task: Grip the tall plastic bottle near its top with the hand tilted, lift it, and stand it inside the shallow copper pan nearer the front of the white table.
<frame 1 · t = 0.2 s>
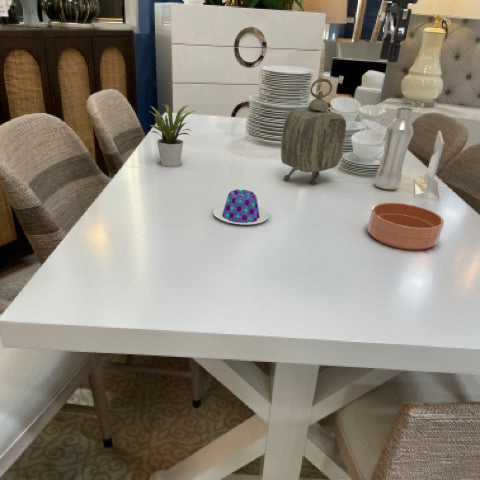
hand: (387, 60, 113), 30 cm above the table, tool pointing down, fingers open, 8 cm apart
tabletop clock: (307, 182, 127), on the table
plastic bottle: (385, 189, 127), on the table
house plant: (175, 164, 132), on the table
pan: (401, 237, 99), on the table
pudding: (240, 217, 102), on the table
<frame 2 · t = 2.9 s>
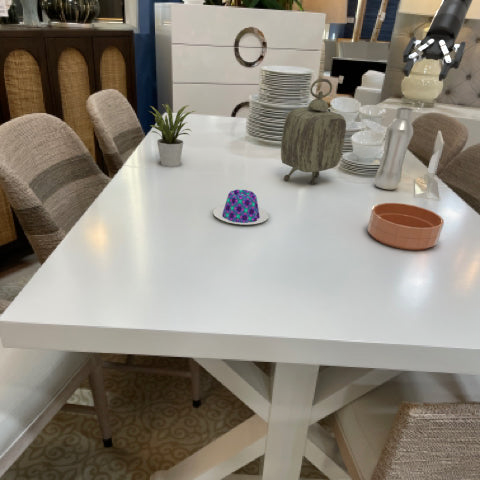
hand: (423, 76, 120), 27 cm above the table, tool tilted 45°, fingers open, 8 cm apart
nothing on the table moved.
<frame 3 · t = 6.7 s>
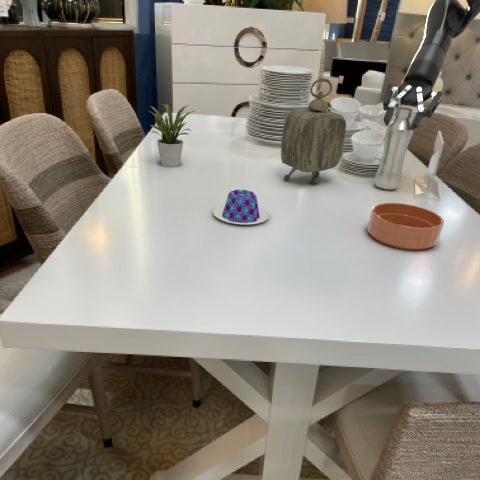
hand: (399, 125, 117), 16 cm above the table, tool tilted 45°, fingers closed on plastic bottle, 6 cm apart
plastic bottle: (385, 189, 127), on the table, touching gripper
everything else where it was.
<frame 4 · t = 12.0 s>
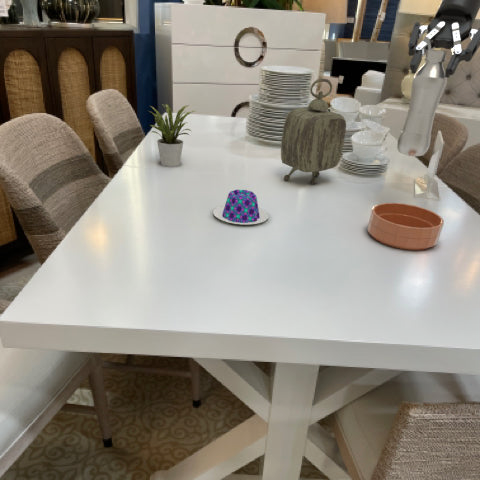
hand: (429, 72, 93), 30 cm above the table, tool tilted 45°, fingers closed on plastic bottle, 6 cm apart
plastic bottle: (410, 156, 103), point 13 cm above the table, touching gripper
everything else where it was.
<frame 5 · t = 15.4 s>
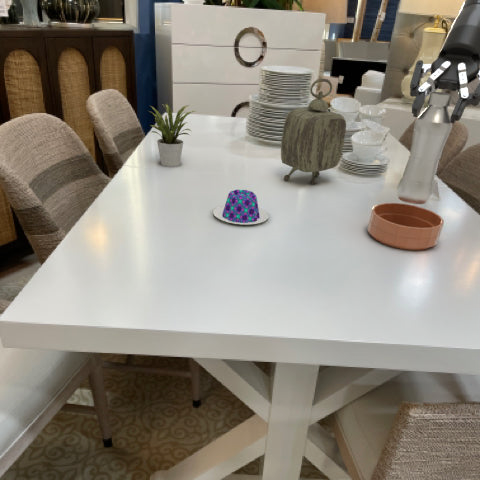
hand: (433, 117, 85), 24 cm above the table, tool tilted 45°, fingers closed on plastic bottle, 6 cm apart
plastic bottle: (411, 203, 95), point 7 cm above the table, touching gripper
everything else where it was.
when the fingers open (17 cm above the table, at t = 17.8 s): plastic bottle stays where it is, resting on pan.
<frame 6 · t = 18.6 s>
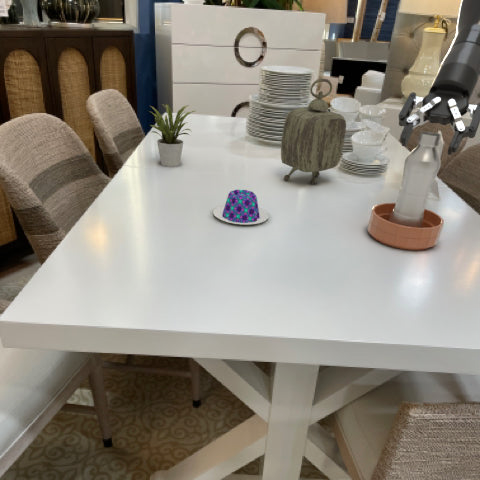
hand: (426, 147, 88), 18 cm above the table, tool tilted 45°, fingers open, 8 cm apart
plastic bottle: (402, 234, 99), point 1 cm above the table, touching pan
everything else where it was.
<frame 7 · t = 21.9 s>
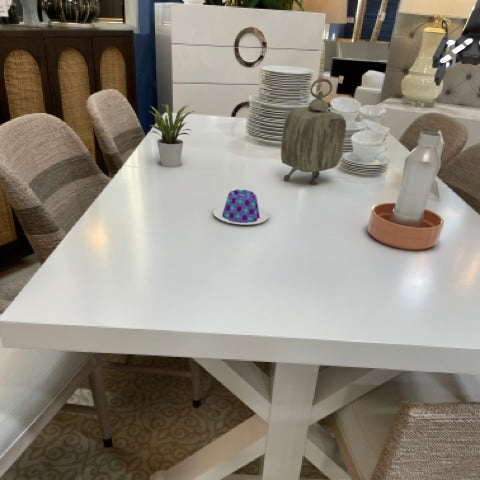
hand: (458, 85, 95), 28 cm above the table, tool tilted 45°, fingers open, 8 cm apart
nothing on the table moved.
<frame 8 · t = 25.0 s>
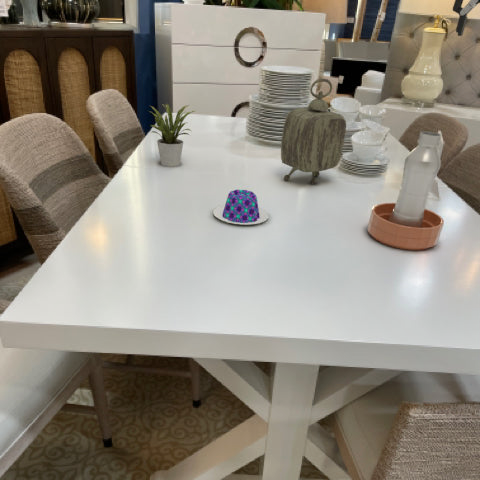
hand: (479, 37, 106), 36 cm above the table, tool pointing down, fingers open, 8 cm apart
nothing on the table moved.
at the end: plastic bottle inside the target area in the pan (0.1 cm from its centre), point 0.6 cm above the pan's base; plastic bottle tilted 0°; the gripper is holding nothing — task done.
